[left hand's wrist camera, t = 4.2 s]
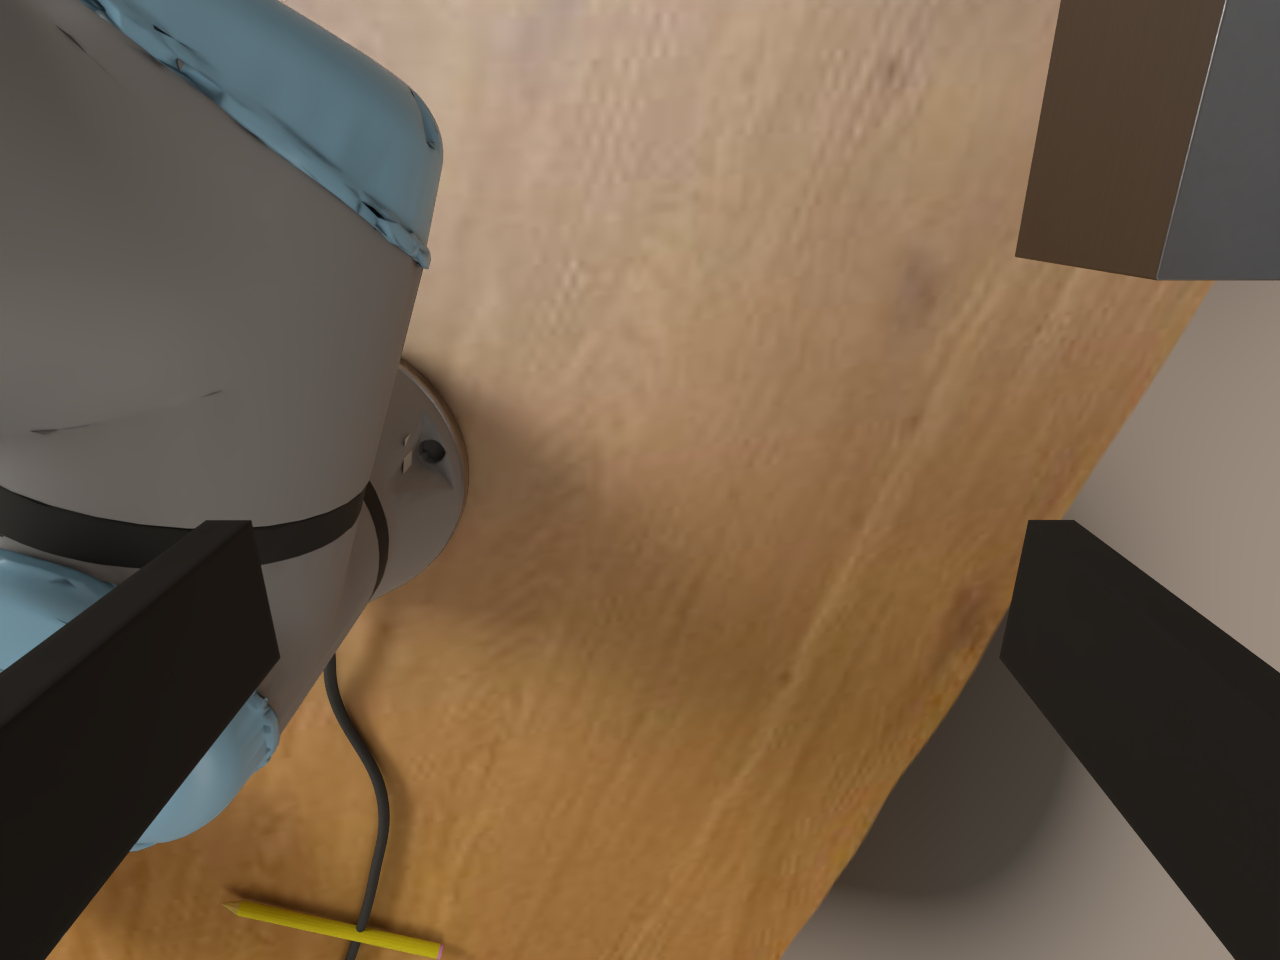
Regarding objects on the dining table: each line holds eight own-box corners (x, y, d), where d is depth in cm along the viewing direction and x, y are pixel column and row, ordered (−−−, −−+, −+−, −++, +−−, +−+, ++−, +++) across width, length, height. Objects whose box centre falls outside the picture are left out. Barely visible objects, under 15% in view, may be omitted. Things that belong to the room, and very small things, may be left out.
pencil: (444, 941, 55) (441, 953, 54) (442, 949, 56) (438, 962, 55) (224, 892, 53) (216, 904, 52) (222, 901, 54) (215, 914, 53)
